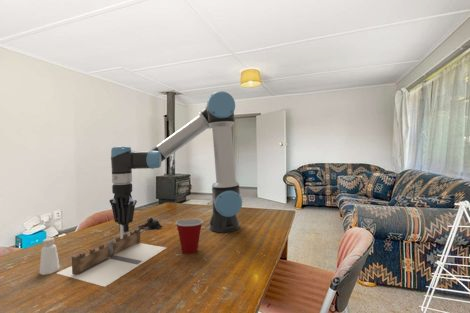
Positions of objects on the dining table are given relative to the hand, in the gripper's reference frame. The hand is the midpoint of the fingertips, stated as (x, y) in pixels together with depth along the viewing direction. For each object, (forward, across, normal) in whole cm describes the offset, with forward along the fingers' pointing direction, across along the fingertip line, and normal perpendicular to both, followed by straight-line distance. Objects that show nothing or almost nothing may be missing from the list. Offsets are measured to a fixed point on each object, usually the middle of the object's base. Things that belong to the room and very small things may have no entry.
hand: (124, 239), depth 96 cm
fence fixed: (+2, +4, -17) cm, 18 cm away
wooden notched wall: (+2, +4, -3) cm, 6 cm away
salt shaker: (+3, -7, -24) cm, 25 cm away
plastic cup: (+3, +29, +5) cm, 30 cm away
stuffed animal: (+4, -5, +20) cm, 21 cm away
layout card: (+3, +8, -10) cm, 14 cm away
